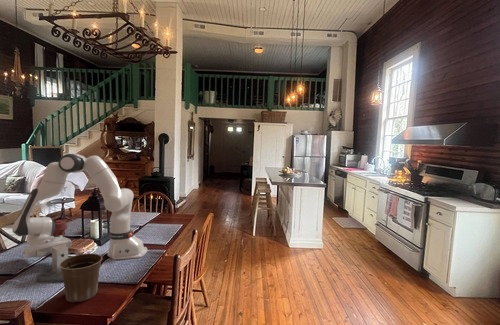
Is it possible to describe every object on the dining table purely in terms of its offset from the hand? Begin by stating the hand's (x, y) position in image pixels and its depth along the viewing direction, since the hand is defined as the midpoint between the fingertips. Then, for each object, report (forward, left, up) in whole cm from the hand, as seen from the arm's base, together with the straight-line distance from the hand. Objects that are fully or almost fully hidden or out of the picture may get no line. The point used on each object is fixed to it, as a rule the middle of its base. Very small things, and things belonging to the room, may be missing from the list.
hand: (54, 251), depth 143 cm
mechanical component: (+25, -47, -11) cm, 55 cm away
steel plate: (-5, +4, -11) cm, 12 cm away
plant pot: (-25, +23, -11) cm, 35 cm away
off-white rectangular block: (-5, +4, -8) cm, 10 cm away
